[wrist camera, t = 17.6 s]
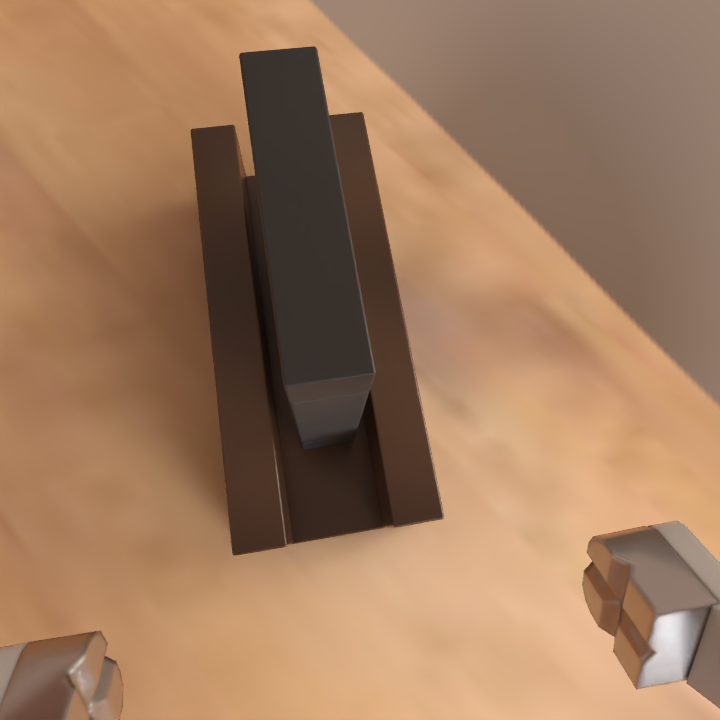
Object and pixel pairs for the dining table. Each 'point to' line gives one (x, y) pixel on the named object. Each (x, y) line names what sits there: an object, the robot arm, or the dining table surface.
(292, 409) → the frame
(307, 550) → the dining table surface
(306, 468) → the holder
